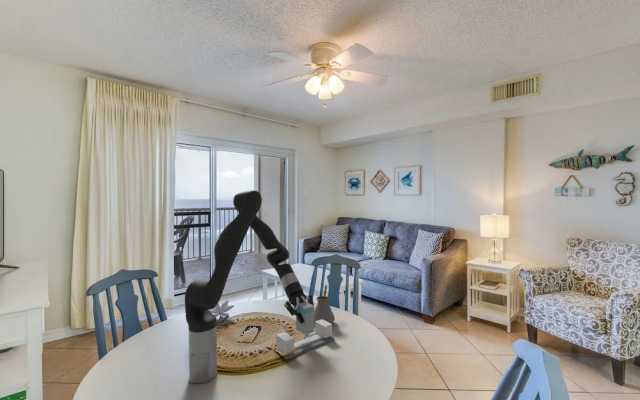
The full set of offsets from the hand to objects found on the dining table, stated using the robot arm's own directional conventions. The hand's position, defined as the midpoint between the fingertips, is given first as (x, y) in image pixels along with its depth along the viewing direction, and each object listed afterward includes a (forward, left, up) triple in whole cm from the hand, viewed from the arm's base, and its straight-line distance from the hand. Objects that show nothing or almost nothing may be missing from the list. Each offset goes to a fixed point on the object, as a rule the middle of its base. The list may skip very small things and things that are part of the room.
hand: (307, 320), depth 124 cm
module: (+2, +1, -5) cm, 5 cm away
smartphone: (+15, +26, -12) cm, 32 cm away
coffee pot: (+26, -10, -11) cm, 30 cm away
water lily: (+34, +43, -11) cm, 56 cm away
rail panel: (+1, +1, -11) cm, 11 cm away
